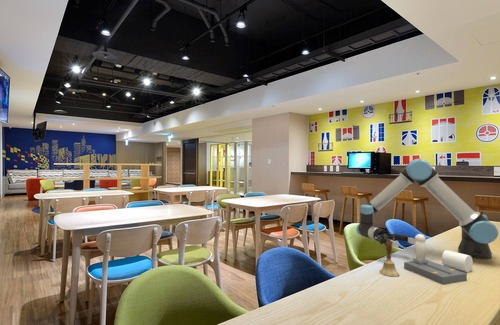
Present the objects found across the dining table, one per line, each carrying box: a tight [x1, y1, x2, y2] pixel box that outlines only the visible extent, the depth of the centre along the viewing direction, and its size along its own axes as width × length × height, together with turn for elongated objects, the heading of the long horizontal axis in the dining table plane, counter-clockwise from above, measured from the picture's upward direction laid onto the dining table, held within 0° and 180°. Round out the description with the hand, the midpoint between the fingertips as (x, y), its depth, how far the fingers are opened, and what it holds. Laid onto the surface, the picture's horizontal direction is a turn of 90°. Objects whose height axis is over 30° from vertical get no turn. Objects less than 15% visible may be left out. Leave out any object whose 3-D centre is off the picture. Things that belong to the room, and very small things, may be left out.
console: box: [403, 259, 468, 285], centre depth 132 cm, size 14×20×3 cm
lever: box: [412, 233, 429, 264], centre depth 139 cm, size 5×5×14 cm
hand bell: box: [379, 239, 400, 278], centre depth 133 cm, size 8×8×16 cm
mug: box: [441, 249, 474, 273], centre depth 139 cm, size 12×10×8 cm
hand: (408, 244), depth 144 cm, fingers open, 13 cm apart
